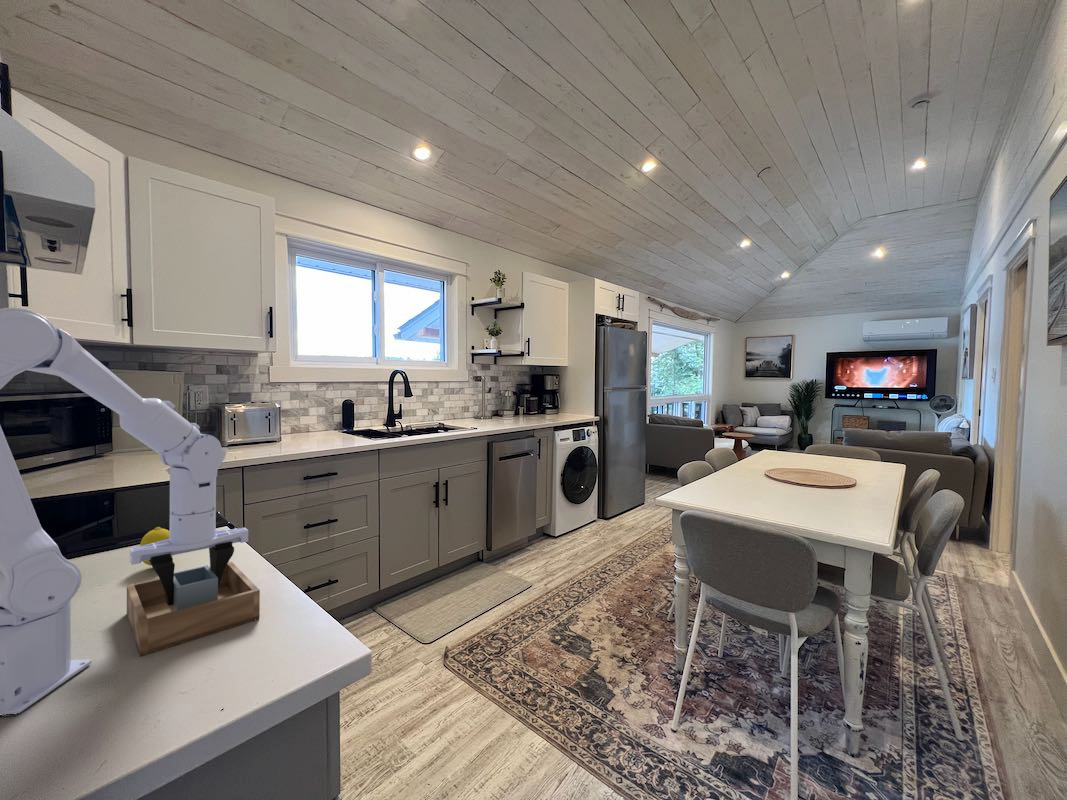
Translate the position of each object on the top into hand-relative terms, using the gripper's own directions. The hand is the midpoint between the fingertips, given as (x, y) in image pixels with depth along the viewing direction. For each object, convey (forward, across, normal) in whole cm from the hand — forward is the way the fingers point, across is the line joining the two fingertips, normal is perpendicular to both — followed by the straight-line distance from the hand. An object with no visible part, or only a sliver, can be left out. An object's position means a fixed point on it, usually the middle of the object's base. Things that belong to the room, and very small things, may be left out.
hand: (192, 597), depth 70 cm
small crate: (+2, 0, 0) cm, 2 cm away
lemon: (+3, +1, -28) cm, 28 cm away
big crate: (+3, 0, 0) cm, 3 cm away
